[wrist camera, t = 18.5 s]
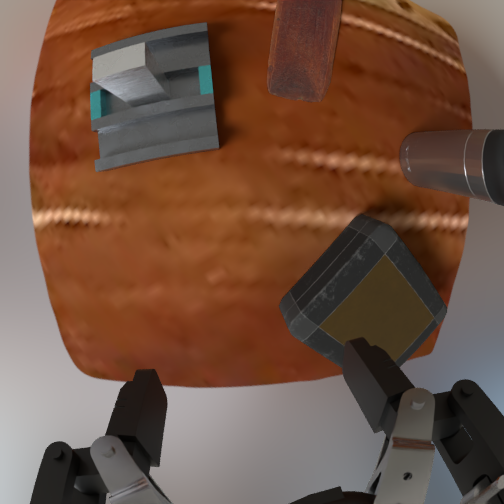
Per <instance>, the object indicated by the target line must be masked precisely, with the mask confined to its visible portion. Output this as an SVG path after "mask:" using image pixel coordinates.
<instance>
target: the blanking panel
mask: <svg viewBox="0 0 504 504" xmlns="http://www.w3.org/2000/svg"><path fill="white" fill-rule="evenodd" d="M93 81H94V82H95V83H97V84H98V85H100V86H102V87H103V88H105V89H106V90H108V91H109V92H111V93H113V94H114V95H116V96H117V97H119V98H120V99H122V100H123V101H125V102H126V103H128V104H130V105H131V106H133V107H138V106H142V105H146V104H150V103H155V102H160V101H165V100H170V99H171V98H170V84H169V81H168V79H167V78H166V76H165V74H164V73H163V71H162V69H161V68H160V66H159V64H158V63H157V61H156V60H155V58H154V56H153V55H152V53H151V51H150V50H149V48H148V47H147V45H146V43H145V42H143V43H140V44H136V45H132V46H129V47H125V48H122V49H118V50H115V51H112V52H109V53H106V54H103V55H100V56H97V57H95V58H93Z"/></svg>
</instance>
